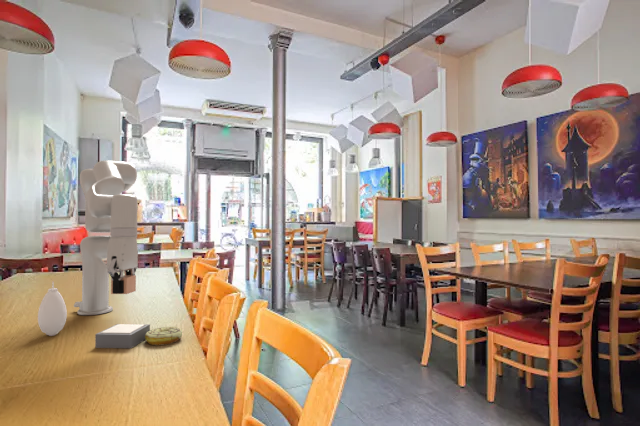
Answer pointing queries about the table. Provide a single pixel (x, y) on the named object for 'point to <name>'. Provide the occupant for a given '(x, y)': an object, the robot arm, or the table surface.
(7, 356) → the table surface
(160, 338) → the decorated donut
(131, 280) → the terracotta cube
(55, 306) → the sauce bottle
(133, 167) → the robot arm
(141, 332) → the grey flat square block
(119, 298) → the table surface
